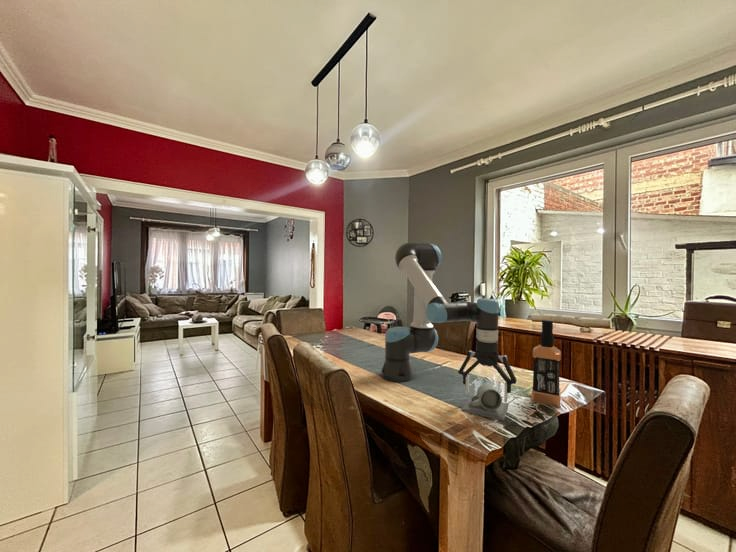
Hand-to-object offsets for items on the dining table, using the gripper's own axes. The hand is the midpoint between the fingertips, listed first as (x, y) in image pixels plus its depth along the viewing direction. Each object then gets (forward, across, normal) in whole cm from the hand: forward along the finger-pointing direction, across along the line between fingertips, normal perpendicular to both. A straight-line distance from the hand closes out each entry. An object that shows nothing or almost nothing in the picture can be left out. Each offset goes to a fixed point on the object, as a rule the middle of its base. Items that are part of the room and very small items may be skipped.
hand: (486, 397), depth 114 cm
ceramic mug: (+4, 0, -1) cm, 4 cm away
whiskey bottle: (+4, +19, +21) cm, 29 cm away
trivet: (+4, 0, 0) cm, 4 cm away
